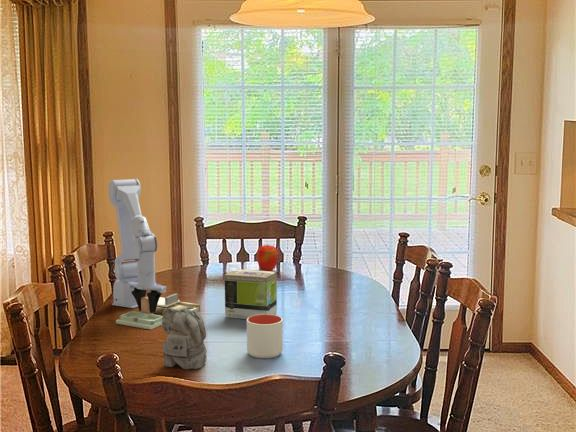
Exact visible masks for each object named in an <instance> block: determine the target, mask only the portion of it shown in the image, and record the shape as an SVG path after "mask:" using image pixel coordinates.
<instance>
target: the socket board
mask: <svg viewBox="0 0 576 432" xmlns="http://www.w3.org/2000/svg"><path fill="white" fill-rule="evenodd" d="M162 316H163V315H161V314H156V313H155V314H148V313H143V312H141V311H135V310H131V311H128V312H126V313H123V314H121V315H119V317H118V319H116V320H115V324H118V325H122V326H123V325H124V326H129V327H135V328H140V329H147V330H150V331H151V330H153V329H156V328H157V327H160V326H162Z"/></svg>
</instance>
